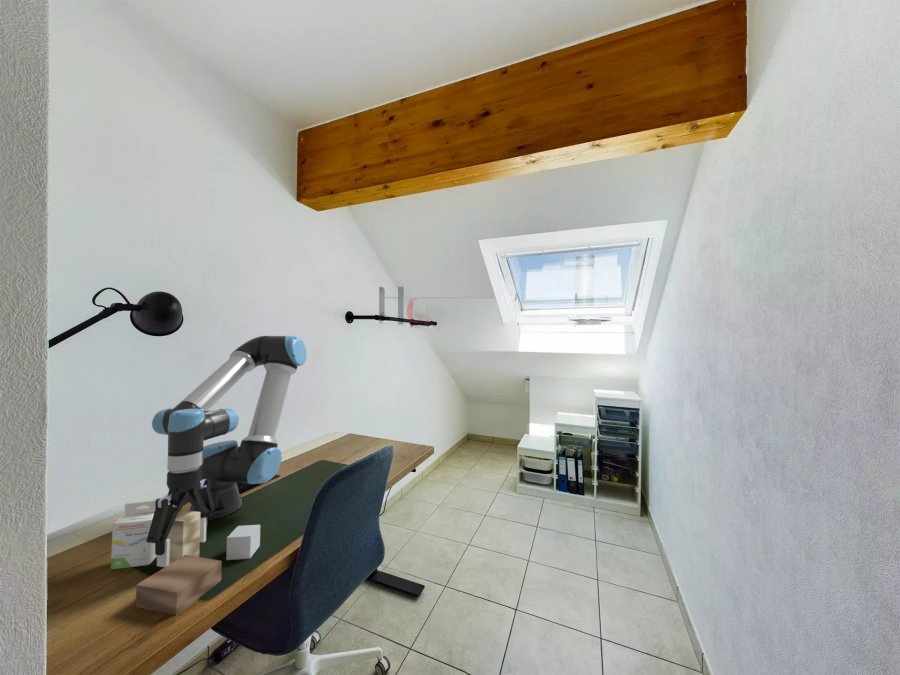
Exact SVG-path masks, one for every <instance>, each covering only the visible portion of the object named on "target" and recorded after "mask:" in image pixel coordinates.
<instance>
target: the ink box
mask: <svg viewBox="0 0 900 675" xmlns="http://www.w3.org/2000/svg"><path fill="white" fill-rule="evenodd" d="M155 501H156V500H153V501H140V502H129V503H125V504H124V515H123V516H121V517H120V518H119V519H117V520H116V521H114V522H113V523H112V531H111V532H112V533H111V534H112V536H111V554H110V570H119V569H126V568H133V567H134V568H135V567H140V566H142V567H143V566H149V565H151V563H153V561H154V560H155V559H157V555H155V543H147V542H146V540H147V536H148V533H149V529H150V526H151V523H152V519H153V516H154V512H155ZM142 506H144V508H138V507H142ZM145 507H146V508H145Z"/></svg>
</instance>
